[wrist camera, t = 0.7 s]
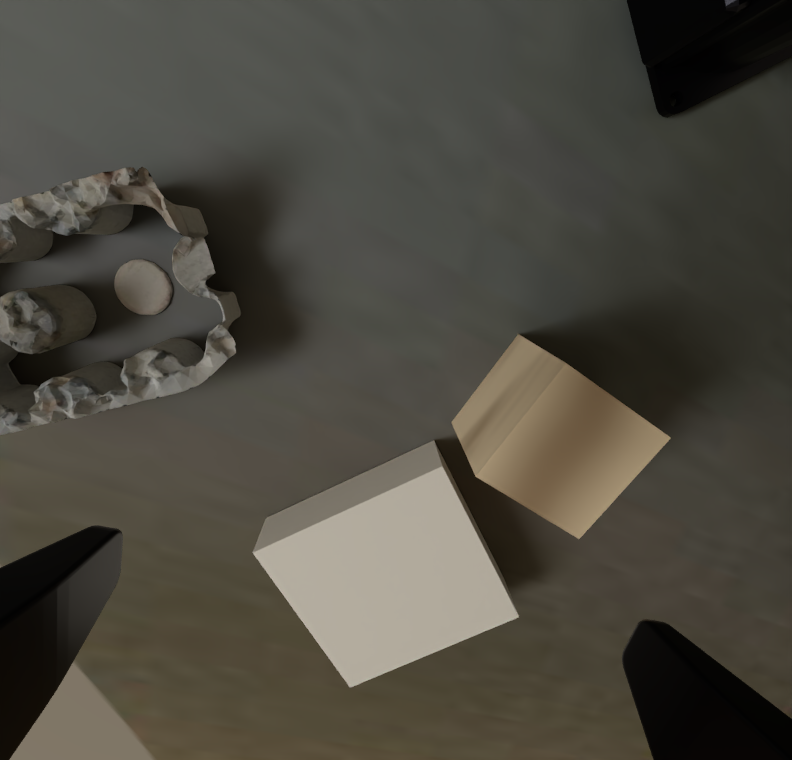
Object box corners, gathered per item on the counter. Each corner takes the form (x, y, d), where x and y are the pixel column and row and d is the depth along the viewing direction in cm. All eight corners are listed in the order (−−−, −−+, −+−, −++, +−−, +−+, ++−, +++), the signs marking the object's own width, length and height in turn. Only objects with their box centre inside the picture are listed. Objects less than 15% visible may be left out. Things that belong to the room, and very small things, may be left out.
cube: (600, 392, 20) (670, 437, 15) (532, 472, 21) (579, 539, 16) (517, 333, 19) (566, 363, 14) (450, 421, 20) (475, 476, 15)
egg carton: (200, 173, 17) (148, 150, 13) (263, 356, 19) (235, 384, 15) (-64, 240, 17) (-194, 239, 13) (30, 414, 19) (-57, 457, 15)
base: (434, 440, 20) (442, 466, 18) (503, 578, 23) (519, 617, 21) (266, 517, 21) (252, 552, 19) (352, 642, 24) (350, 687, 21)
